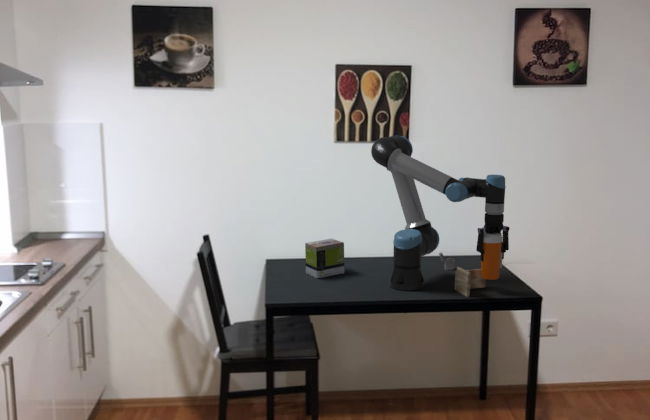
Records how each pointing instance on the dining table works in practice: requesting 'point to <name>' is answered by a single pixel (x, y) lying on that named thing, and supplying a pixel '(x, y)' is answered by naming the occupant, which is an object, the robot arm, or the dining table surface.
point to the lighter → (447, 262)
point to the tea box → (324, 258)
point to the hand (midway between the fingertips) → (491, 267)
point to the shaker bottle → (491, 255)
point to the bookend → (468, 280)
